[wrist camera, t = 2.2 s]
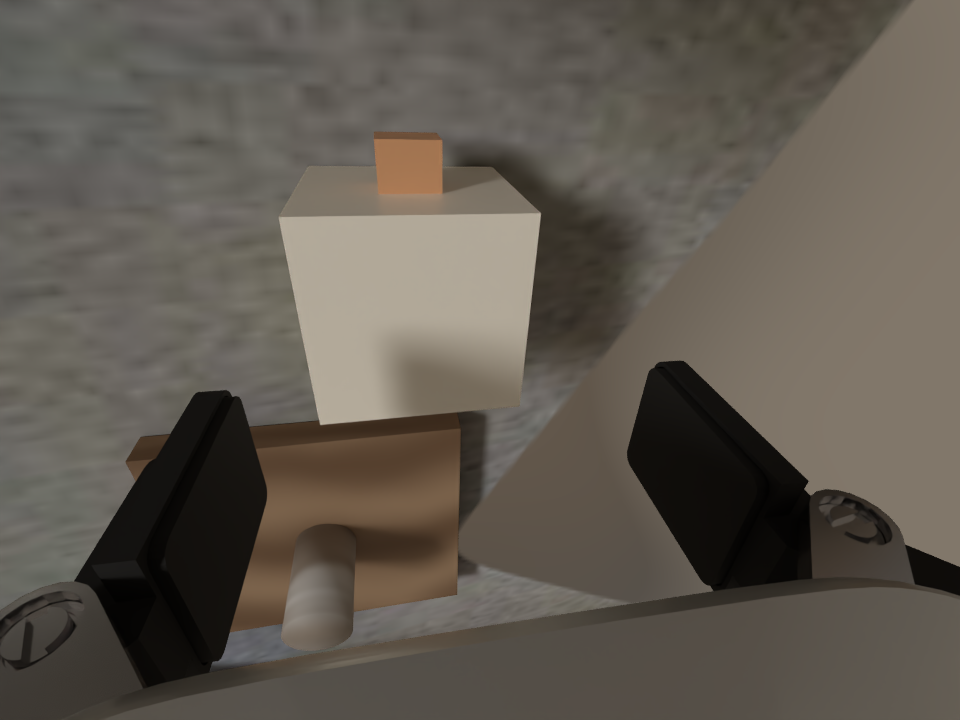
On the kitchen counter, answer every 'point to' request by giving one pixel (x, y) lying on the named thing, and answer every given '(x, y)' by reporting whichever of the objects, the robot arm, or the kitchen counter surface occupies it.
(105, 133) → the kitchen counter surface
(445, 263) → the cap
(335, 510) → the post block
